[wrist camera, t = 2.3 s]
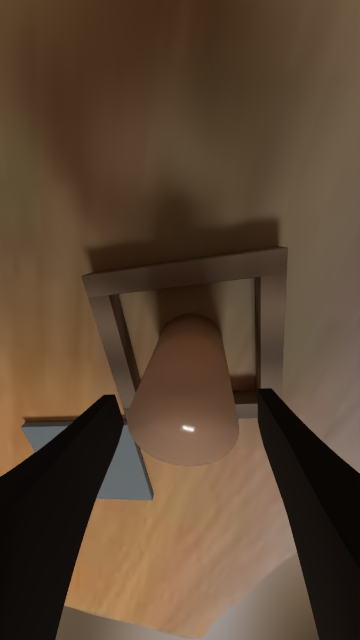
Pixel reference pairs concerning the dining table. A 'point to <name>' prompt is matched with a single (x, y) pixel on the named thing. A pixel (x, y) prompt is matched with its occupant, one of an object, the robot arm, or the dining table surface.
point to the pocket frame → (225, 267)
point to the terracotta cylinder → (185, 396)
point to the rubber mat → (124, 470)
